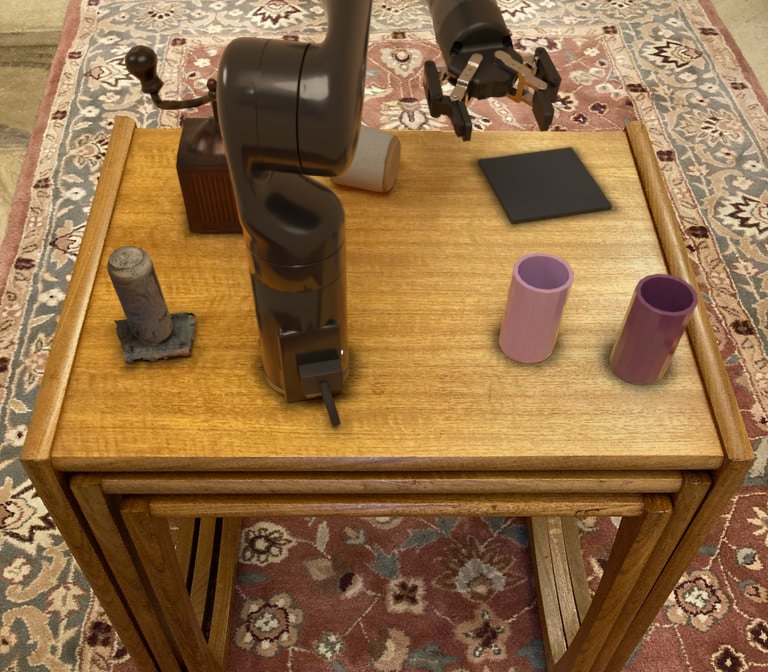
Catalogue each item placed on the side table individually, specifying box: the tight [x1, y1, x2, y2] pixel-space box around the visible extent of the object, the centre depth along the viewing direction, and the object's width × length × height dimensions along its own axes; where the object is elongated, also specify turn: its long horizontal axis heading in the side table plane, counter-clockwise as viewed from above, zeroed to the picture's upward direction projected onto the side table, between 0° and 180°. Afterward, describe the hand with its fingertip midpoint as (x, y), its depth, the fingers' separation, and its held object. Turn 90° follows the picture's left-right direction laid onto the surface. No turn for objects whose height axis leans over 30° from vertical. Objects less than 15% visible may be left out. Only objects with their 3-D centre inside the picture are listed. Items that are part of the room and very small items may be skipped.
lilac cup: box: [498, 252, 575, 364], centre depth 82 cm, size 6×6×10 cm
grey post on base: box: [106, 245, 197, 365], centre depth 80 cm, size 9×8×12 cm
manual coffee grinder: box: [124, 44, 244, 235], centre depth 91 cm, size 16×11×18 cm
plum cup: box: [608, 273, 699, 386], centre depth 81 cm, size 6×6×10 cm
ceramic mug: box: [329, 124, 402, 193], centre depth 100 cm, size 11×8×8 cm
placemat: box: [477, 146, 613, 225], centre depth 103 cm, size 14×14×1 cm
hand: (507, 129), depth 80 cm, fingers open, 8 cm apart
